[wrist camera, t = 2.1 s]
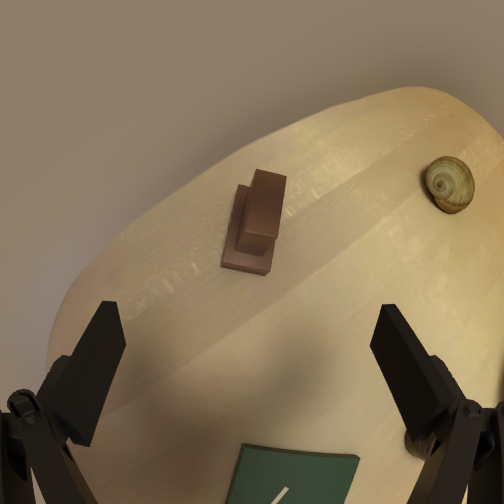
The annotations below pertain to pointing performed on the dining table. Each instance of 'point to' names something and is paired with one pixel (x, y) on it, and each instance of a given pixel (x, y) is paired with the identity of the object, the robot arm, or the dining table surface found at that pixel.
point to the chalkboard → (291, 477)
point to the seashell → (450, 183)
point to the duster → (255, 224)
